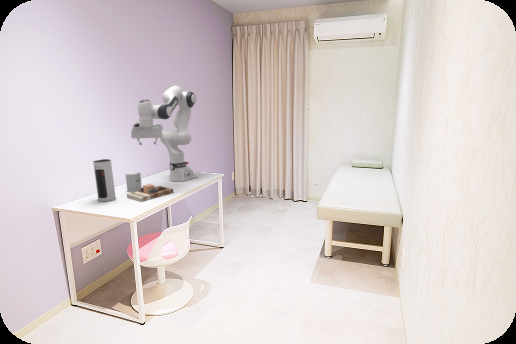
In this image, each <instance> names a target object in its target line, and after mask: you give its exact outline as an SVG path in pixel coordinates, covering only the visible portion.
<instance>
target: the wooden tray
mask: <svg viewBox="0 0 516 344" xmlns="http://www.w3.org/2000/svg"><path fill="white" fill-rule="evenodd" d="M169 194H174V189H173V188H171V187H165V186H162V185H157V186H154V189H151V190H148V193H145V192H144V190H143V187H142V188H140V190H139V191H136V192H129V193H126V197H127V198H128V199H131V200H134V201H138V202H141V203H143V202H145V201H149V200H152V199H156V198H160V197H162V196H167V195H169Z"/></svg>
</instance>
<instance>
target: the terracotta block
mask: <svg viewBox="0 0 516 344" xmlns="http://www.w3.org/2000/svg"><path fill="white" fill-rule="evenodd" d="M154 187H155V184H151V183H148V184H145V185H142V188H143V190H144V192H145V193H148V190H151V189H154Z"/></svg>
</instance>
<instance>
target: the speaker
mask: <svg viewBox="0 0 516 344" xmlns="http://www.w3.org/2000/svg"><path fill="white" fill-rule="evenodd" d="M92 163H93V171H94V178H95V185H96V192H97V193H96V194H97V200H98V201H99V203H100V202H102V203H105V202H111V201H114V200H116V191H115V190H116V188H115V182H114V174H113V168H112V167H113V165H112V160H111V159H110V158H109V159H108V158H103V159H97V160H93V161H92Z"/></svg>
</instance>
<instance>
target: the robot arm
mask: <svg viewBox="0 0 516 344" xmlns="http://www.w3.org/2000/svg"><path fill="white" fill-rule="evenodd" d="M161 98H162V101H163V103H164V104H154V103H152V102H151V100H150V99H142V100H139V101H138V104H137V105H138V106H137V109H138V110H137V111H138V115H139V116H138V117H139V118H138V120H139V121H138V122H135V123H133V124H132V128H131V133H130V135H131V137H130V138H132V139H134V140H135V139H136V141H138V145H139V146H142V142H141V141H140V140H141V139H155V141H153V145H157V141H158V139H160V142H161V143H162V145H164V146H165V147H166V149H167V151H168V154H169V169H170V171H169V172H170V173H169V178H168V179H169V181H171V182H187V181H189V180H193V179H195V178H197V177H198V175H196V174H194V170H193V169H192V168H190V167H189V166H188V165H189V161H185V153H184V150H182V149H181V148H180V147H179V146H185V145H189V144H190V143H191V141H192V135H191V133H190V132H189V131H188V126H189V123H190V119H191V115H192V108H194V107H193V106H194V105H195V104H196V101H197V96H196V94H195V93H194V92H193V91H183V89H182V88H181V87H180V86H178V85H173V86H171V87H169V88H167V89H166V90H165V91H164V92H163V93H162V95H161ZM177 106H178V110H177V112H176V114H175V117H174V120H173V126H174V127H175V128H176V129H175V130H165V131H163V127H164V126H163V125H162V124H160V123H158V124H157V123H154V120H169V118H171V116H172V114H173V112H174V110H175V108H176V107H177Z"/></svg>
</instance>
